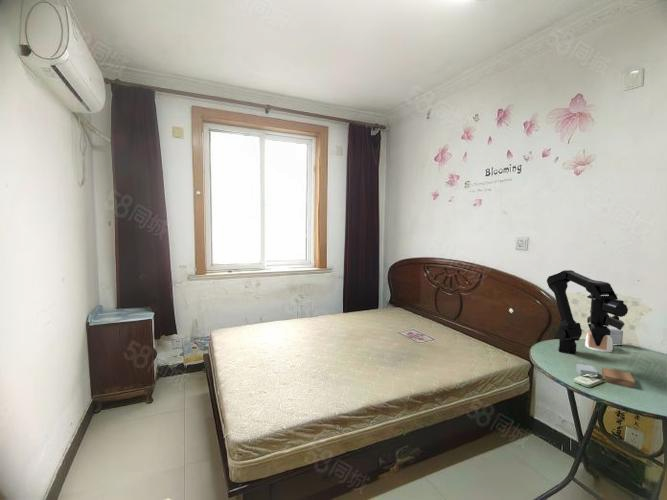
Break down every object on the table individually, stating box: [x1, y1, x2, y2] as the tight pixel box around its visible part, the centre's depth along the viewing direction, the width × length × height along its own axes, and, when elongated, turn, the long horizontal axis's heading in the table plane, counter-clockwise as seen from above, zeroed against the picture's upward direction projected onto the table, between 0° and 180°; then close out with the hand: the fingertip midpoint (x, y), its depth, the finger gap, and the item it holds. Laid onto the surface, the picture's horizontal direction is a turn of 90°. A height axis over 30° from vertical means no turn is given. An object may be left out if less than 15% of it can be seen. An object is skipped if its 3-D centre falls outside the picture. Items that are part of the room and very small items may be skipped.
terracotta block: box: [587, 329, 607, 350], centre depth 141 cm, size 6×6×6 cm
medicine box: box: [607, 326, 624, 346], centre depth 166 cm, size 8×4×9 cm, turn 71°
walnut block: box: [601, 366, 636, 389], centre depth 130 cm, size 9×9×3 cm
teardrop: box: [584, 333, 614, 353], centre depth 161 cm, size 11×11×12 cm
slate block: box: [575, 363, 599, 377], centre depth 135 cm, size 6×6×3 cm
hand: (596, 343), depth 141 cm, fingers closed on terracotta block, 6 cm apart
